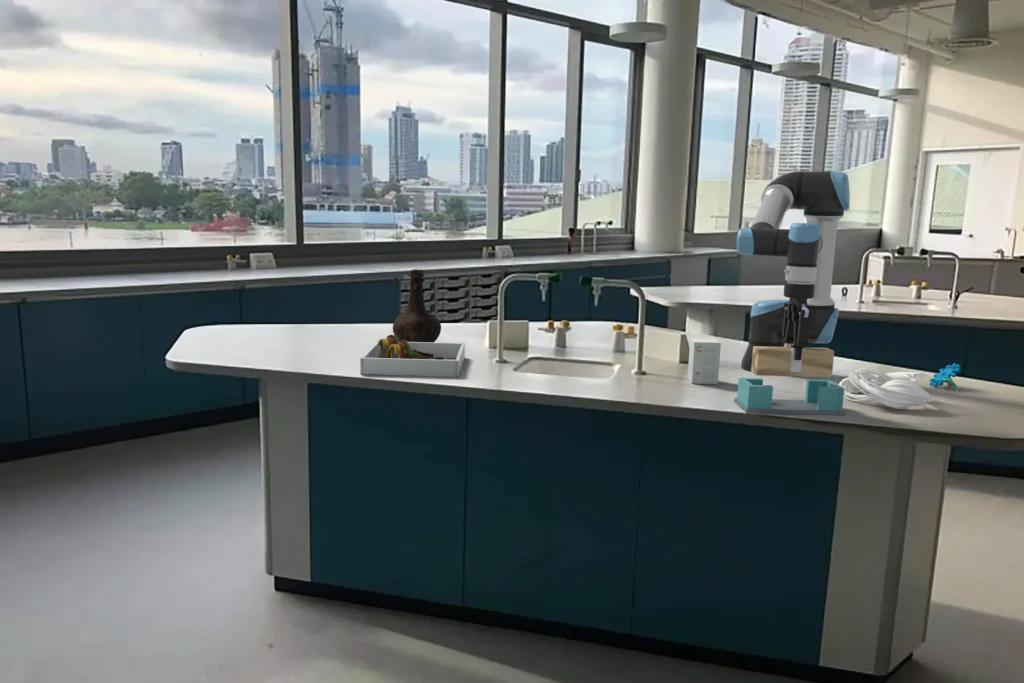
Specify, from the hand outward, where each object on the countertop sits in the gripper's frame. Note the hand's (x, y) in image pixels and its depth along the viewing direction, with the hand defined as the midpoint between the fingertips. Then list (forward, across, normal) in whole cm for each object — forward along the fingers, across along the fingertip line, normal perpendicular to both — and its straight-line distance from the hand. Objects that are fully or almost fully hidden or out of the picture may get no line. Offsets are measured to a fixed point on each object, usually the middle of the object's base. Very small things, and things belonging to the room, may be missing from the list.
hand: (791, 369), depth 202 cm
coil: (+11, -10, +30) cm, 34 cm away
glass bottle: (+11, -77, -110) cm, 135 cm away
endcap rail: (+11, 0, 0) cm, 11 cm away
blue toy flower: (+11, -30, +59) cm, 67 cm away
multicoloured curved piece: (+11, -42, -105) cm, 114 cm away
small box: (+11, -29, -16) cm, 35 cm away
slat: (+1, 0, 0) cm, 1 cm away
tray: (+11, -42, -106) cm, 115 cm away
